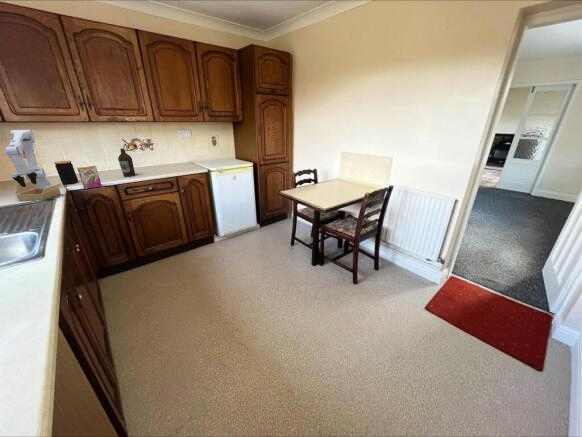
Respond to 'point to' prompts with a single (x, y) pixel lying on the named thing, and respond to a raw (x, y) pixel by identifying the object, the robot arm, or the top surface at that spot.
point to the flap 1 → (22, 189)
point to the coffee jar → (66, 172)
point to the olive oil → (126, 164)
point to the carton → (37, 195)
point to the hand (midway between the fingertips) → (29, 185)
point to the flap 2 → (52, 187)
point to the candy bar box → (89, 176)
